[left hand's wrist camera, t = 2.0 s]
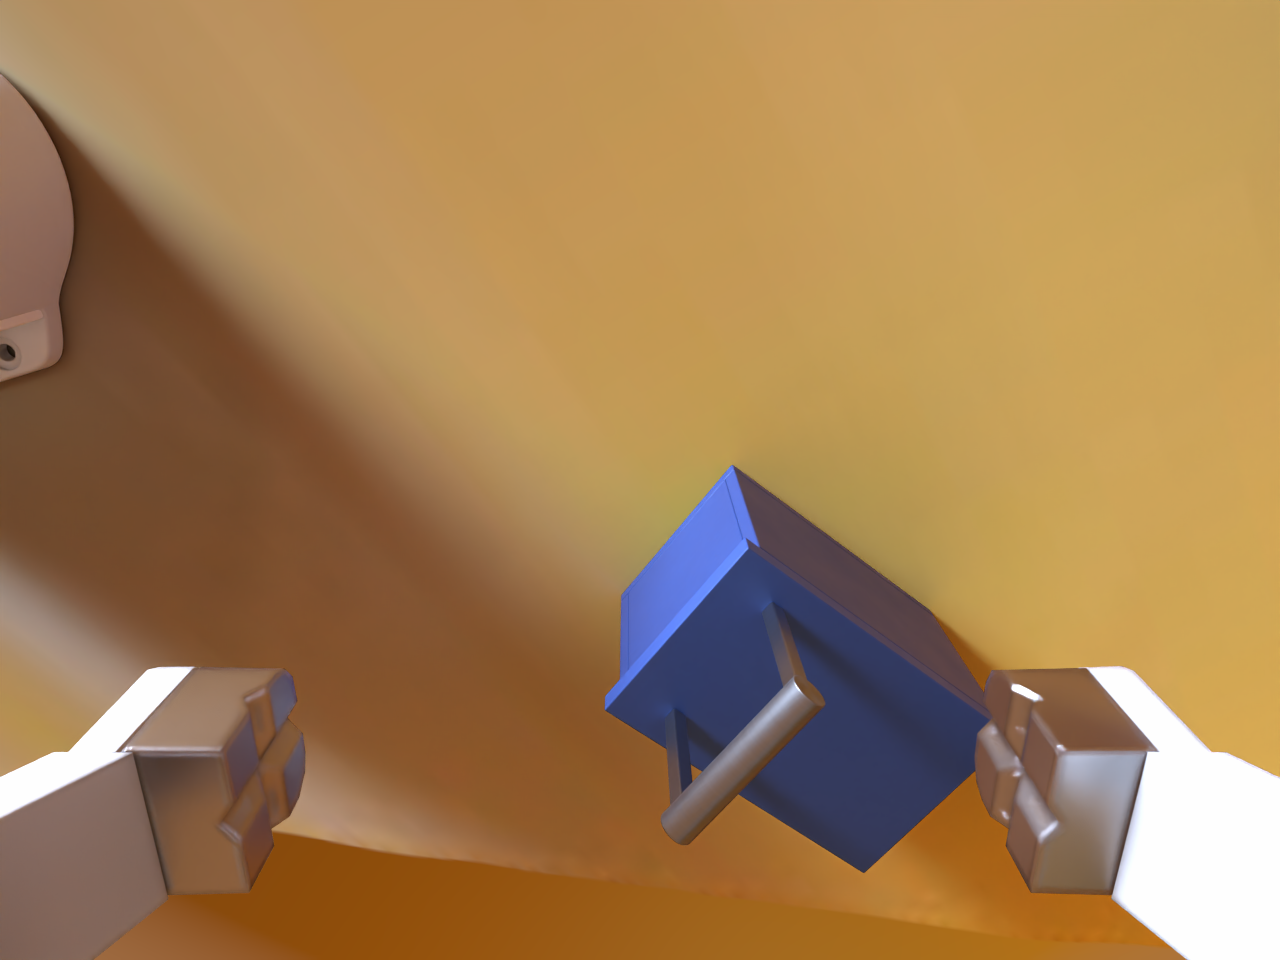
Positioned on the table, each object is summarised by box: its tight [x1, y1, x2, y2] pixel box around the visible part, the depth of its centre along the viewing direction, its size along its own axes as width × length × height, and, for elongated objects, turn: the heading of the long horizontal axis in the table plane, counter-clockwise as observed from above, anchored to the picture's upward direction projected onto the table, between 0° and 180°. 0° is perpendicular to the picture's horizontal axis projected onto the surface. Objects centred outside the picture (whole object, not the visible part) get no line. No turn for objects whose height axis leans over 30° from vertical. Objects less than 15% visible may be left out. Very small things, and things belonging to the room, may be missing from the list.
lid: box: [605, 538, 993, 873], centre depth 36 cm, size 15×10×8 cm, turn 53°
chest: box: [620, 465, 989, 712], centre depth 45 cm, size 15×10×10 cm
